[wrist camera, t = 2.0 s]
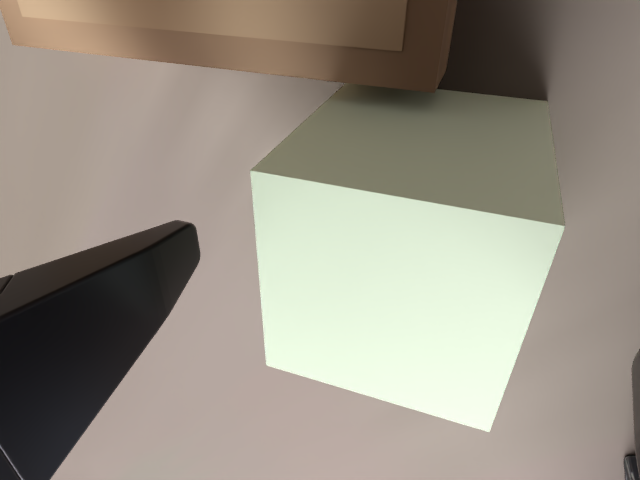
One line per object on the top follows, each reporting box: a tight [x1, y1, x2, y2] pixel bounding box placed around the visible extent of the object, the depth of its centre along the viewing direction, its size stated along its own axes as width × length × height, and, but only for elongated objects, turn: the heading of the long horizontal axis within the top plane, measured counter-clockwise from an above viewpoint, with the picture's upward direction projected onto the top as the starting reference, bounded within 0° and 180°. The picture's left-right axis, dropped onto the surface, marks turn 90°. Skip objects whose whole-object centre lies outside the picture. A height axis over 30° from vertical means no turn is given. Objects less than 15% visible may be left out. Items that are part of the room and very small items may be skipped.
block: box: [250, 83, 565, 432], centre depth 11 cm, size 5×5×6 cm
